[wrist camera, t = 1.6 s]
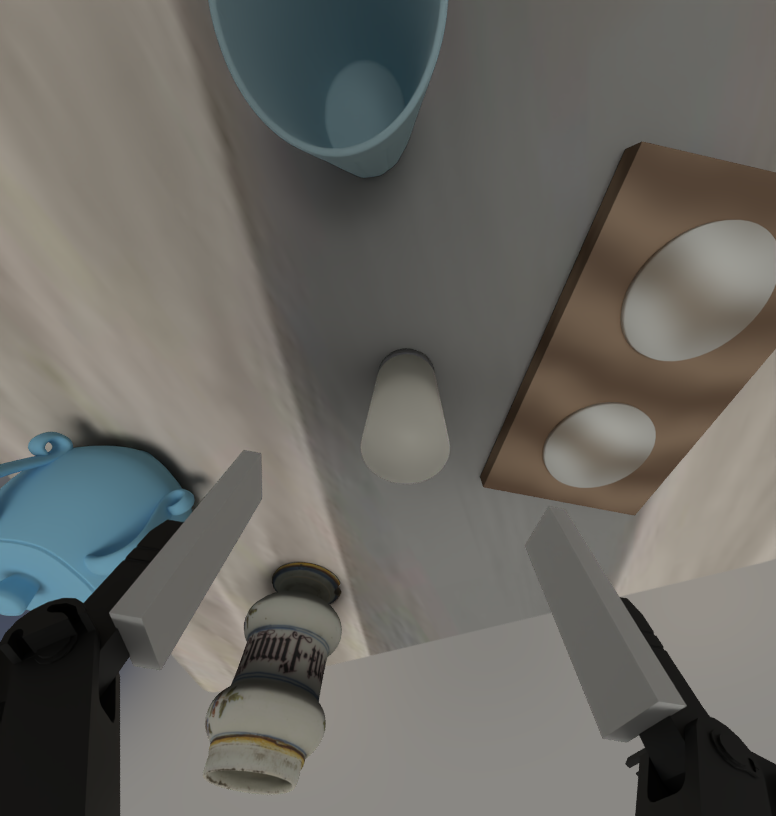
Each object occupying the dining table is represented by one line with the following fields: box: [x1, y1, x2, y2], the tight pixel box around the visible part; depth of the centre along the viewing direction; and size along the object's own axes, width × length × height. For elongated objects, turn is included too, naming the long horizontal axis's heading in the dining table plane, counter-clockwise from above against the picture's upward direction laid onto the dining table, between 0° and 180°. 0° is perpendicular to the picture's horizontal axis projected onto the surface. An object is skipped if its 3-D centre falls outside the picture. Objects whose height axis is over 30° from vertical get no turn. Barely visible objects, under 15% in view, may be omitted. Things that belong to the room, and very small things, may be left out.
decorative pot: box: [0, 432, 194, 616], centre depth 29 cm, size 16×16×14 cm
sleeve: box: [361, 349, 450, 484], centre depth 21 cm, size 5×5×11 cm
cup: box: [208, 0, 448, 178], centre depth 14 cm, size 8×8×10 cm
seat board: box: [480, 142, 776, 515], centre depth 24 cm, size 27×16×2 cm, turn 169°
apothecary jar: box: [203, 562, 342, 794], centre depth 34 cm, size 12×12×18 cm
